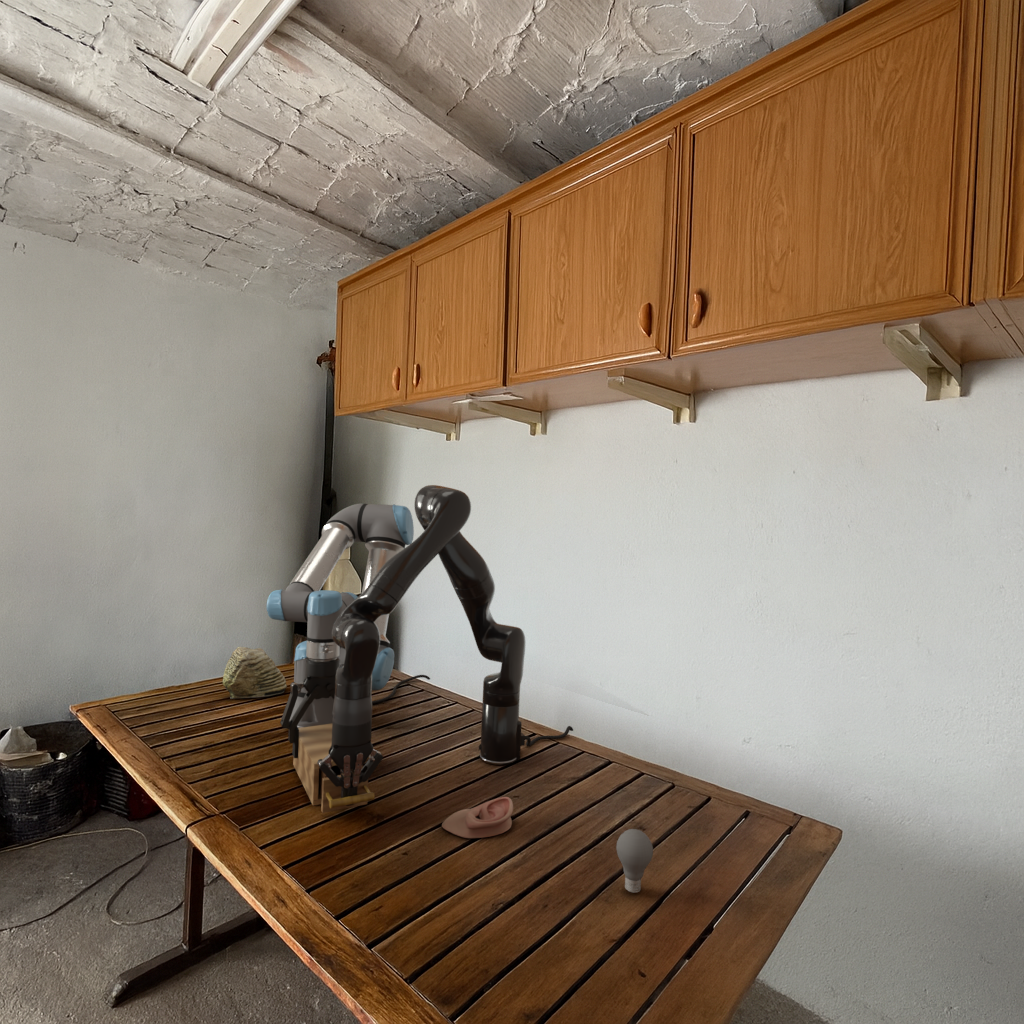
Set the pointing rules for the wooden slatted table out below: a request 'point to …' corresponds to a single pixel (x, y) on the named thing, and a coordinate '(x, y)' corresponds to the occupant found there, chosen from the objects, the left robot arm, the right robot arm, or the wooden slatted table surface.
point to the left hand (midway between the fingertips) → (319, 752)
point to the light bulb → (634, 857)
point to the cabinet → (312, 757)
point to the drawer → (333, 793)
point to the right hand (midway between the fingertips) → (349, 803)
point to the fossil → (252, 674)
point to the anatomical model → (481, 819)
